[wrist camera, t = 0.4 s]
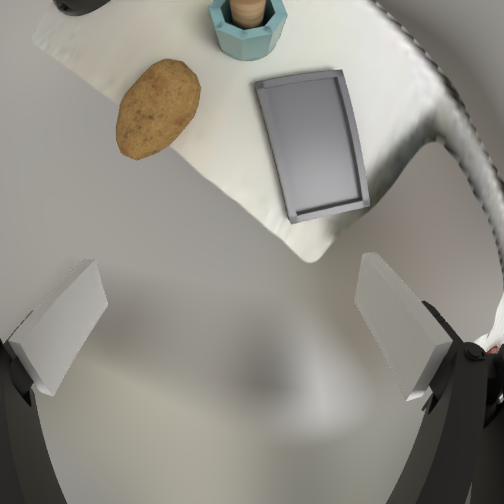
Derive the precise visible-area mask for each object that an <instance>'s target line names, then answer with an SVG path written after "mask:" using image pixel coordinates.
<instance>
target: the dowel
mask: <svg viewBox="0 0 504 504" xmlns="http://www.w3.org/2000/svg"><path fill="white" fill-rule="evenodd" d="M265 3H266V0H230V6H231V14H232V22H233V26H235V27H237V28H240V29H242V30H248V29H253V28H258V27H262V23H263V16H264V10H265Z"/></svg>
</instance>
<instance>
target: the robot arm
mask: <svg viewBox="0 0 504 504" xmlns="http://www.w3.org/2000/svg"><path fill="white" fill-rule="evenodd" d="M108 1H110V0H53V2H54V4H55V5H56V7H57V8H58V9H59V10H60V11H61V12H63V13H65V14H67V15H70V16H79V15H83V14H87V13H89V12H92V11H94V10H96V9H98V8H99V7H101V6H103V5H104V4H106V3H107V2H108ZM354 302H355V304H356V306H357V308H358V309H359V311H360V313H361V315H362V317H363V318H364V320H365V322H366V323H367V325H368V327H369V329H370V331H371V333H372V335H373V337H374V338H375V340H376V342H377V344H378V346H379V348H380V350H381V351H382V354H383V355H384V357H385V359H386V361H387V363H388V365H389V367H390V369H391V371H392V373H393V375H394V377H395V379H396V381H397V383H398V385H399V387H400V389H401V391H402V393H403V395H404V398H405V400H406V401H408V400H411V399H414V398H417V397H421V396H423V395H424V393H425V391H426V390H427V388H428V386H430V388H431V390H432V391H433V393H432V394H431V396H430V397H429V399H428V400H427V402H426V403H425V405H424V406H423V408H422V410H423V411H424V410H425V408H426V407H427V408H426V411H425V414H424V417H423V420H422V423H421V426H420V429H419V432H418V435H417V438H416V440H415V443H414V445H413V448H412V451H411V453H410V455H409V458H408V460H407V462H406V465H405V467H404V469H403V471H402V473H401V475H400V478H399V480H398V482H397V484H396V486H395V488H394V490H393V492H392V494H391V495H390V497H389V499H388V501H387V503H386V504H465V501H466V498H467V495H468V492H469V489H470V486H471V482H472V490H471V500H470V504H504V400H503V402H502V403H500V399H499V398H500V396H501V395H502V394H503V397H504V344H502V345H501V347H500V349H499V351H498V353H486V352H485V351H484V349H483V348H481V347H480V346H479V345H477V344H475V343H471V342H465V343H464V342H463V341H462V340H461V339H460V337H459V336H458V335H457V334H456V332H455V331H454V330H453V329H452V328H451V326H450V325H449V324H448V323H447V322H445V319H444V318H443V317H442V316H440V313H439V312H438V311H437V310H436V309H435V307H433V306H432V305H430V304H429V303H427V302H426V301H420V300H419V299H418V298H417V296H416V295H415V294H414V293H413V292H412V291H411V290H410V289H409V287H408V286H407V285H406V284H405V283H404V282H403V281H402V280H401V278H400V277H399V276H398V275H397V274H396V273H395V272H394V271H393V270H392V269H391V268H390V266H388V265H387V263H386V262H385V261H384V260H383V259H382V258H381V257H380V256H379V255H378V254H377V253H363V254H362V260H361V266H360V273H359V278H358V284H357V289H356V294H355V300H354ZM107 306H108V303H107V300H106V296H105V293H104V289H103V286H102V282H101V279H100V275H99V272H98V268H97V264H96V260H95V259H85V260H83V261H81V263H79V264H78V265H77V266H76V267H75V268H74V269H73V270H72V271H71V272H70V273H69V274H68V275H67V276H66V277H65V278H64V279H63V280H62V281H61V282H60V283H59V284H58V285H57V286H56V287H55V288H54V289H53V290H52V291H51V292H50V293H49V294H48V295H47V296H46V298H45V299H44V300H43V301H42V302H41V303H40V304H39V305H38V306H37V307H36V308H35V309H34V310H33V311H32V312H31V313H30V314H29V315H28V316H27V317H26V319H25V320H23V322H22V323H21V324H20V326H18V328H17V329H16V330H15V331H14V332H13V333H12V335H11V336H10V337H9V338H8V340H7V341H6V342H5V343H4V344H3V343H2V341H1V339H0V504H67V502H66V500H65V498H64V495H63V493H62V491H61V488H60V485H59V483H58V480H57V478H56V475H55V473H54V469H53V466H52V464H51V461H50V458H49V454H48V451H47V448H46V444H45V441H44V437H43V433H42V429H41V425H40V420H39V416H38V411H37V406H36V401H35V395H34V392H33V390H32V389H31V386H32V384H33V382H34V383H35V385H36V386H37V388H38V389H39V391H40V392H42V393H45V394H48V395H51V396H54V394H55V392H56V390H57V388H58V386H59V385H60V383H61V381H62V379H63V377H64V376H65V374H66V372H67V370H68V369H69V367H70V365H71V363H72V362H73V360H74V358H75V356H76V355H77V353H78V352H79V349H80V348H81V347H82V345H83V343H84V342H85V340H86V338H87V337H88V335H89V334H90V332H91V330H92V329H93V327H94V326H95V324H96V323H97V321H98V320H99V318H100V317H101V315H102V313H103V312H104V310H105V309H106V307H107Z"/></svg>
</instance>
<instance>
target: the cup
mask: <svg viewBox="0 0 504 504" xmlns="http://www.w3.org/2000/svg"><path fill="white" fill-rule="evenodd" d="M208 8H209V11H210V14H211V18H212V21H213V24H214V27H215V31H216V34H217V38H218V42H219V45H220V47H221V50H222V51H224V52H225V53H226V54H227V55H228V56H230V57H232V58H234V59H237V60H241V61H253V60H258V59H261V58H263V57H265V56H267V55H268V54H269V53H270V52H271V51H272V50H273V49H274V47H275V45H276V42H277V41H278V39H279V38H280V35H281V32H282V29H283V26H284V24H285V21H286V18H287V13H286V10H285V7H284V5H283V2H282V0H266V3H265V10H264V16H263V23H262V27H258V28H253V29H248V30H242V29H240V28H237V27H235V26H233V22H232V14H231V6H230V0H214V1H213V2H212V3H211V5H210V6H209V7H208Z"/></svg>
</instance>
